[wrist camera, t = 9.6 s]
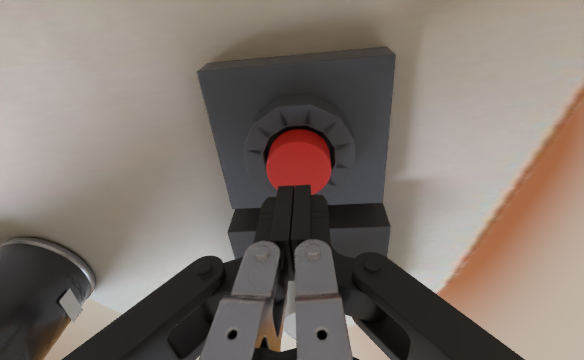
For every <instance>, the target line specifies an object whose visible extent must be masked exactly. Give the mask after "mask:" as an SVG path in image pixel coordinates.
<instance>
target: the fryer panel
mask: <svg viewBox="0 0 584 360" xmlns="http://www.w3.org/2000/svg"><path fill="white" fill-rule="evenodd" d="M260 210H261V208H246V209H235V211H234V214H233V217H232V220H231V223H230V226H229V229H228V235H229V239H230V242H231V246H232V249H233V253H234V256H235V260H236V259H238V258H240V257H242V256H244V253H245V251H246V249H247V248H248V247H249V246H250V245H252V244H253V242H254V237H255V233H256V228H257V224H258V220H259V215H260ZM328 215H329V229H330V242H331V245H332V247H333V249H334V250H335V251H337V252H338V253H339V254H341V255H344V256H347V257H351V258H356V257H357V256H358V255H360V254H362V253H365V252H375V253H379V254H382V255H384V256H385V257H387V253H388V244H389V236H390V227H391V226H390V223H389V220H388V217H387V214H386V211H385V208H384V205H383V202H382V203H365V204H342V205H328Z"/></svg>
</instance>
